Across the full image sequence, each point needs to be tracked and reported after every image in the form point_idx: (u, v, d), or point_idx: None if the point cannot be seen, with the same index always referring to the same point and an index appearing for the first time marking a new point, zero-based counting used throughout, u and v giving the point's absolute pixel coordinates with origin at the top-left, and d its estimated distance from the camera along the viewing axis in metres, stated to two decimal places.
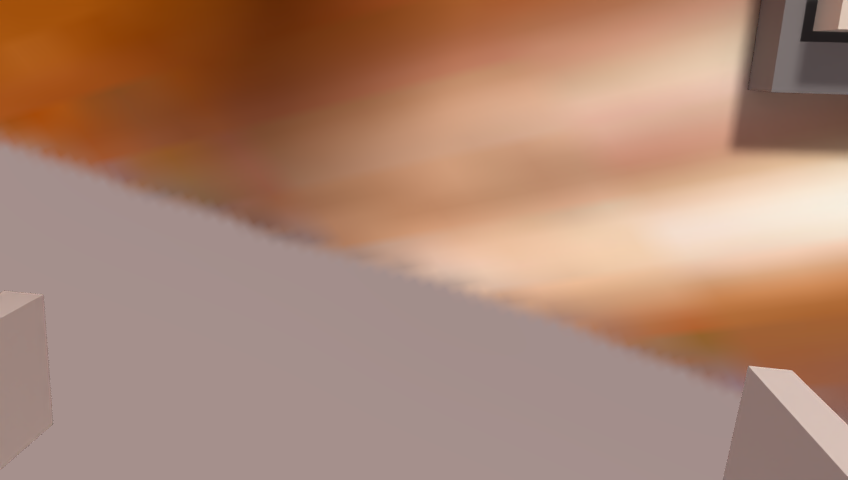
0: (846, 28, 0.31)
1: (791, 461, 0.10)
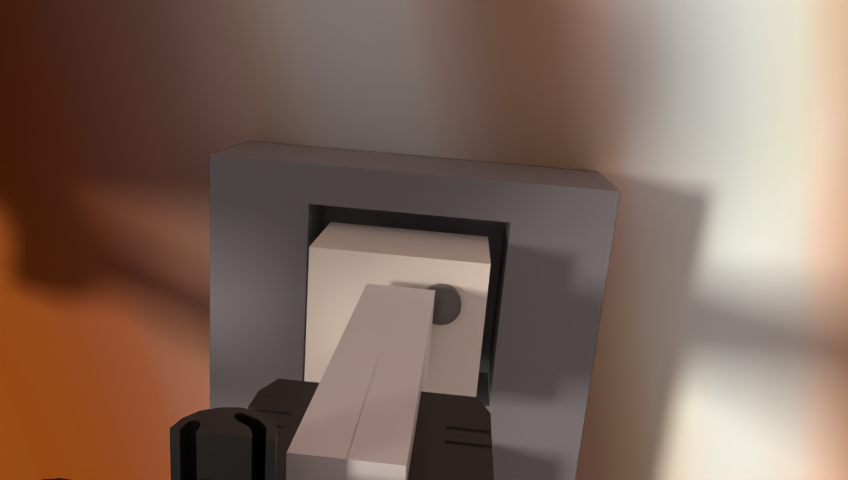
0: None
1: None
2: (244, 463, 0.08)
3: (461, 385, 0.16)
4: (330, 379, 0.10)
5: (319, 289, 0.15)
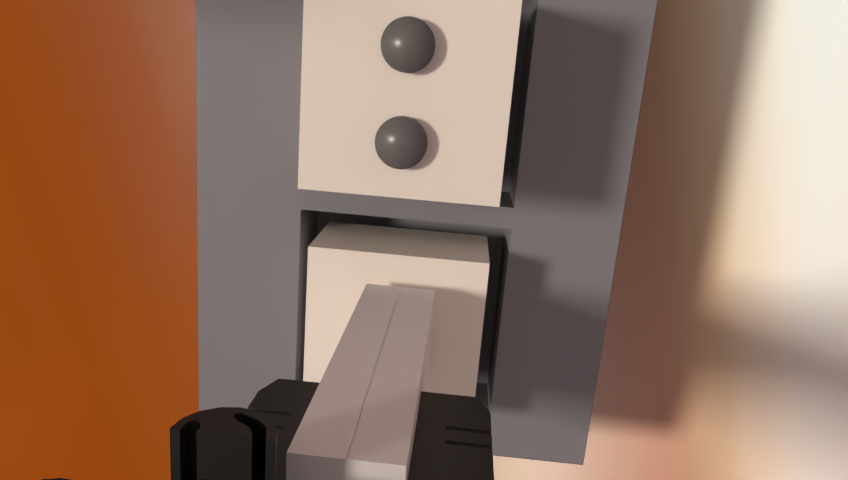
0: None
1: None
2: (244, 463, 0.08)
3: None
4: (330, 379, 0.10)
5: None
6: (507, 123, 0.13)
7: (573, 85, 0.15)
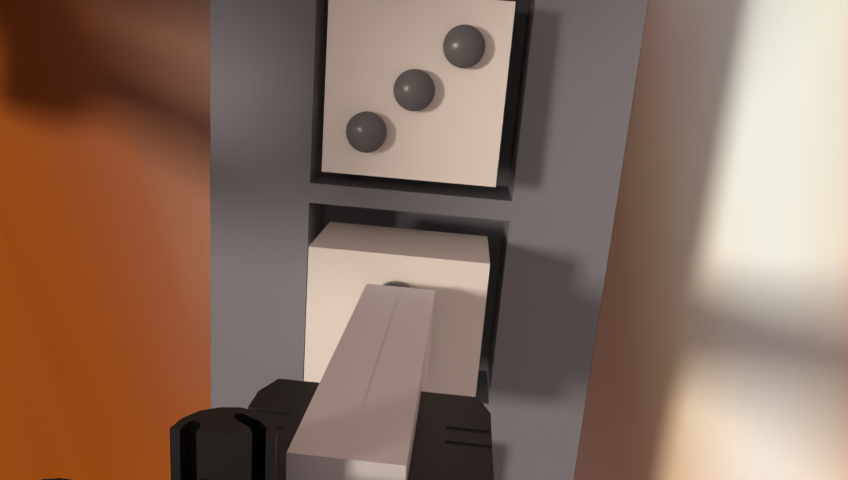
0: None
1: None
2: (244, 463, 0.08)
3: (485, 140, 0.15)
4: (330, 379, 0.10)
5: (339, 35, 0.15)
6: (478, 363, 0.15)
7: (539, 306, 0.17)
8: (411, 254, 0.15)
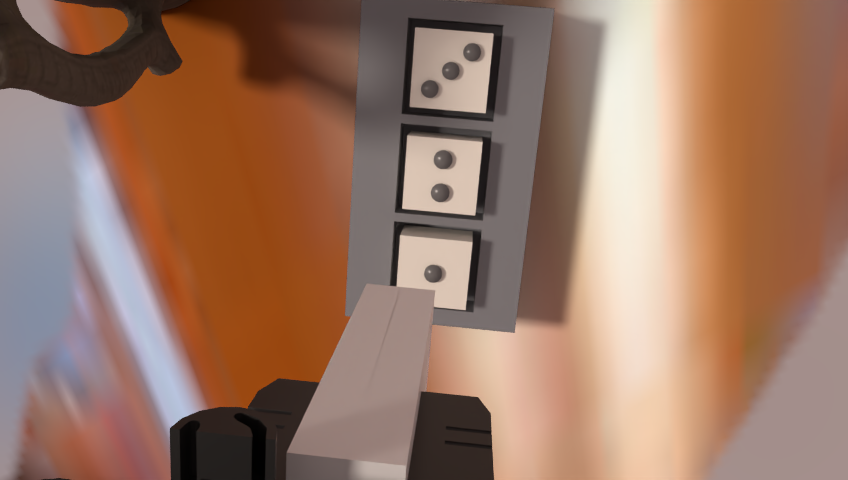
0: (465, 302, 0.38)
1: None
2: (244, 463, 0.08)
3: (481, 92, 0.35)
4: (330, 379, 0.10)
5: (418, 47, 0.35)
6: (477, 186, 0.36)
7: (506, 171, 0.37)
8: (450, 138, 0.36)
